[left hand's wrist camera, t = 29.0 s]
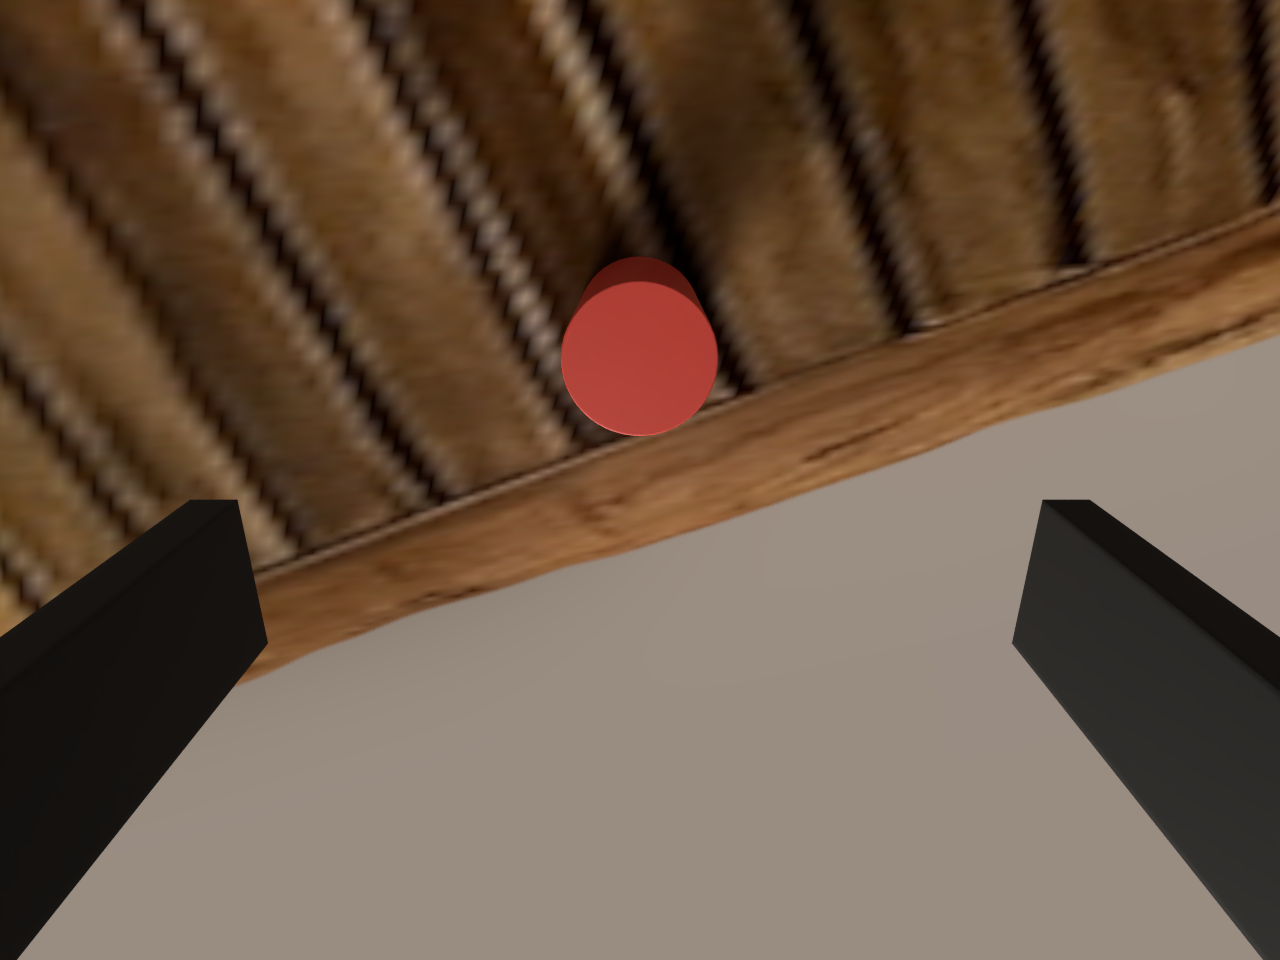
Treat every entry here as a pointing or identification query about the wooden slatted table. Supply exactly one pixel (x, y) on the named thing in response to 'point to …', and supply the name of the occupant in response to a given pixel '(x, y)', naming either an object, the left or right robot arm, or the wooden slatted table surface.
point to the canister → (639, 348)
